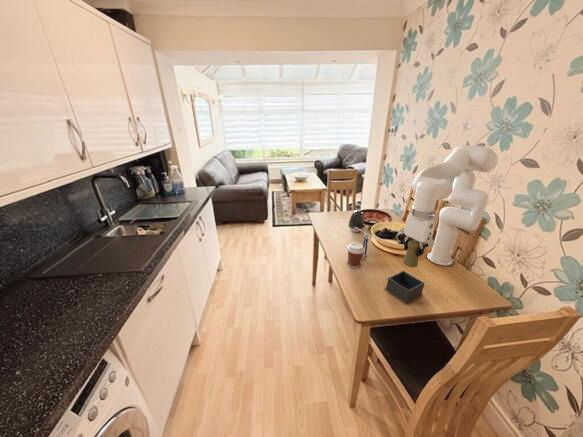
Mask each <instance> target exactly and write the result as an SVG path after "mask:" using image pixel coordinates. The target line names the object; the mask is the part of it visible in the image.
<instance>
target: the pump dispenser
mask: <svg viewBox="0 0 583 437" xmlns="http://www.w3.org/2000/svg"><path fill="white" fill-rule="evenodd" d="M364 214H366V212H365V211H363V212H361V211H360V210H354V211H353V212H352V214H351V216H350V217H349V219H348V220H349V221H348V228H349V230H350V231H351V232H353V233H359V232H361V231H360V230H362V231H363V228H364V218H363V215H364ZM355 227H357V228H356V229H355ZM358 228H359V229H360V230H358Z"/></svg>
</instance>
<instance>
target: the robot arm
mask: <svg viewBox="0 0 583 437" xmlns="http://www.w3.org/2000/svg"><path fill="white" fill-rule="evenodd" d="M498 160H499V159H498V154H497V153H496V151H495V150H494V149H492V148H491V147H488V146H483V145H467V144H463V145H459V146H457V147H455V148H454V149H453V151H451V152H450V154H449V155H448V156H447V157H446V159H445V160H444V161H442V162H439V163H436V164H433V165H430V166H428V167H426V168H423V169H422V171H420V172H419V174H417V176H416V177H415V178H414V180H413V182H412V184H411V190H412V192H413V193H415V194H414V198H413V204H412V209H411V212H410V213H408V214H409V215H408V217H407V219H406V221H405V225H404V227H403V228H401V229H400V230H399V233H400V234H401V235H402V238H403V241H404V245H403V250H404V251H407V249H408V242H409V241H410V240H417V241H419V243H420V247H419V248H418V251H417V256H418V257H421V256H422V255H424V252H425V248H429V247H431V248H432V249H431V252H428V253H427V256H426V257H427V259H428V261H430V262H432V263H433V264H435V265H438V266H443V267H444V266H446V267H448V266H452V265H453V262H454V260H453V259H452V255H453V254H454V253H455V252H454V249H455V245H456V242H457V239H458V236H459V233H458V229H461V230H465V231H468V232H474V231H476V230H477V229H478V228H479V226H480V223H481V220H482V218H483V216H484V213H485V210H486V207H487V205H488V203H489V193H487V192H486V191H484V190H482V189H481V190H480V189H475V188H474V186H475V183H476V179H477V178H476V175H475V173H474V172H481V173H490V172H492V171H493V170H494V169H495V168H496V166H497V165H498ZM450 179H454V181H453V183H452V182H450V181H449V180H450ZM447 198H448V202H449V203H450V204H451V205H454V206H444V207H443V208H442V209H441V210H440V211H439V216H438V227H437V230H436V234H435V238H434V239H433V234H434V229H435V218H436V217H437V215H436V214H435V208H436V203H437V201H440V200H445V199H447ZM455 206H459V207H462V208H467V209H470V210H471V211H470V210H467V209H462V208H459V207H455ZM427 241H428V242H427Z"/></svg>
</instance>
